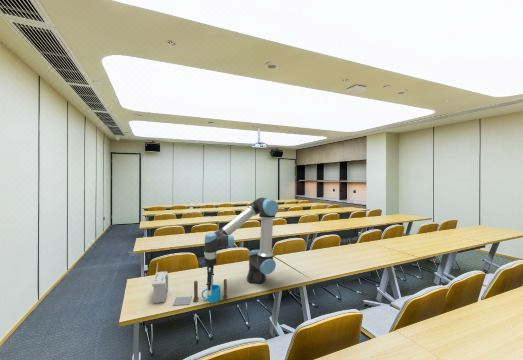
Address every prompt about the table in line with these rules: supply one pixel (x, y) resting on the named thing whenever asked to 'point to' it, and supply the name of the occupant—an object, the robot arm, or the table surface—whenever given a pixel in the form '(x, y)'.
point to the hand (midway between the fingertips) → (210, 290)
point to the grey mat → (182, 301)
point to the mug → (213, 294)
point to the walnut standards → (197, 291)
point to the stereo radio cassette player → (160, 286)
